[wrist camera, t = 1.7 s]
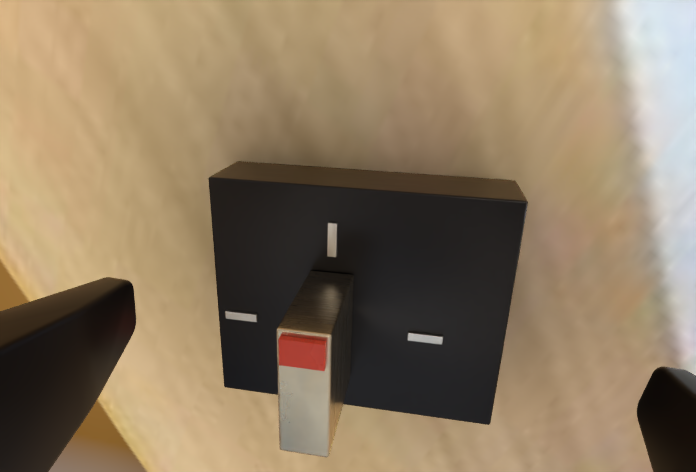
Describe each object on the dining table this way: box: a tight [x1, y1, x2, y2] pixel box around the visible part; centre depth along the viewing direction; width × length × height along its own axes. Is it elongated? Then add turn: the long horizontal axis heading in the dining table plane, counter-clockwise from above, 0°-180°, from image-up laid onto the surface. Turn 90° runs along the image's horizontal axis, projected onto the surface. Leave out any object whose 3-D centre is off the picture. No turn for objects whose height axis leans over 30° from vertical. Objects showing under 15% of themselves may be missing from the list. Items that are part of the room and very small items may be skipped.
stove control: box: [209, 161, 528, 425], centre depth 21 cm, size 11×12×3 cm
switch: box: [277, 271, 354, 457], centre depth 18 cm, size 5×2×5 cm, turn 178°
